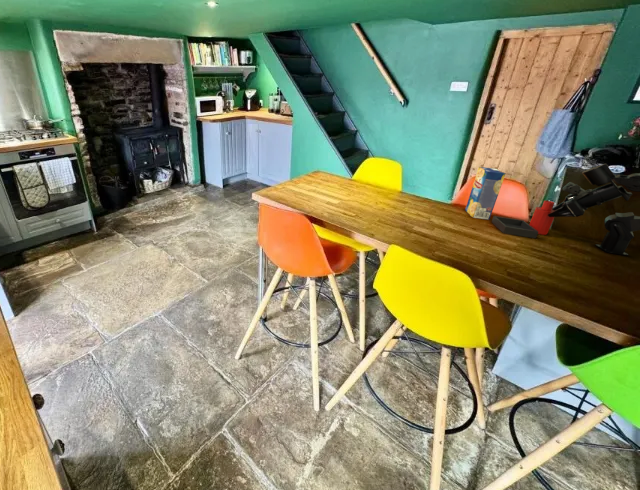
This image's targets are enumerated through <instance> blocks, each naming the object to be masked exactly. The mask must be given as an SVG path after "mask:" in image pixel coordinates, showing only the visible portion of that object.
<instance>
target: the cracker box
mask: <svg viewBox="0 0 640 490" xmlns="http://www.w3.org/2000/svg"><path fill="white" fill-rule="evenodd" d="M506 175H507V173H505V172H504V171H502V170H499V169H497V168H495V167H484V166H478V168H477V172H476V175H475V177H474V181H473V184H472V187H471V190H470V194H469V196H468V200H467V203H466V206H465V209H464V211H466V212H467V214H469V216H470V217H472V218H474V219H480V220H481V219H482V220H488V221H490V219H491V217H492V213H493V211H494V208H495V205H496V203H497V199H498V197H499V195H500V194H499V193H500V191H501V188H502V186H503V182H504V179H505V177H506Z"/></svg>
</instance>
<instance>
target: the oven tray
mask: <svg viewBox="0 0 640 490" xmlns="http://www.w3.org/2000/svg"><path fill="white" fill-rule="evenodd" d="M491 223H492V224H493V225H494V226H495V227H496V229H498V230H499V231H500V232H501V233H502V234H504V235H505V234H506V235H512V236H518V237H524V238H531V239H537V236H538V235H539V234H538V231H537V230H536V229H534V228H533V227H532V226H530V225H529V224H530V223H528V222H527V221H525V220H523V219H517V218H512V217H511V218H510V217H503V216H496V215H493V217H492V220H491Z"/></svg>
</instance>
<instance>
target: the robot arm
mask: <svg viewBox="0 0 640 490" xmlns="http://www.w3.org/2000/svg"><path fill="white" fill-rule="evenodd" d="M581 174H582V175H583V176H584V177H585V179H586V180H587V182H588V183H589V184H590V185H592V186H597V187H595V188H594V189H590V188H589V189H586V190H585V189H584V188H582V187H581V186H580V185H578V183H574V182H572V181H569V182H568V183H566V184H565V185H564V186H563V187H562V190H563V191H564V192H567V193H569V194H568V195H567V196H565V198H564V200H563V201H562V202H560V203H559V204H557V205H556V206H553V208H552V210H555V211H553V212H552V213H550V214H548V216H549V217H554V218H563V217H565V218H567V217H573V218H575V217H576V218H579V217H581V216H583V215H584V214H585V211H587V210H588V209H590V208H592V207H595V206H602V204H604V203H606V202H609V201H613V200H616V199H619V198H621V197H622V198H623V199H624V201H626V202H628V201H630V198H631V196H633V193H632V192H636V193H639V192H640V172H639V173H637V172H635V173H631V174H629V175H627V174H626V175H625V174H624V175H623V174H614V172H613V171H612V170H611V169H610V166H609V165H608V164H607V163H603V164H601V165H597V166H593V167H590V168H587V169H586V170H584V171H582V172H581ZM613 180H614V181H615V182H614V181H613ZM617 184H619V185H617ZM624 187H625V188H624ZM626 189H627V190H629V192H628V191H627V190H626ZM603 222H604V228H605V229H606V230H607V232H606V234H605V235H604V237H603V238H602V241H601V243H600V244H595V247H597V248H598V249H600V250H601V251H604V252H605V253H607V254H614V255H620V256H627V257H628V256H629V254H628V253H627V252H625V251H626V249H627V248H628V247H629V244H630V243H631V240H632V239H634V238H635V236H634V233H633V232H637V231H640V216H638V215H635V214H634V212H632V211H630V212H615V214H609V215H608V216H606V217H605V219H604V221H603Z"/></svg>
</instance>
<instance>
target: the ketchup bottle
mask: <svg viewBox="0 0 640 490" xmlns="http://www.w3.org/2000/svg"><path fill="white" fill-rule="evenodd" d="M555 204H556V202H555V201H551V200H543V203H542V205H541V206H536V207H535V209H534V210H533V214H532V216H531V219H530V221H529V223H528V224H529V225H530V226H532V227H533V228H534V229H536V230H537V231H538V234H537V235H543V236H545V235H546V236H547V235H548V233H549V231H550V229H551V226H552V225H553V222H554V219H555V217H549V216H548V214H550V213H552V212H553V211H555V210H552V208H554V207H555Z"/></svg>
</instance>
